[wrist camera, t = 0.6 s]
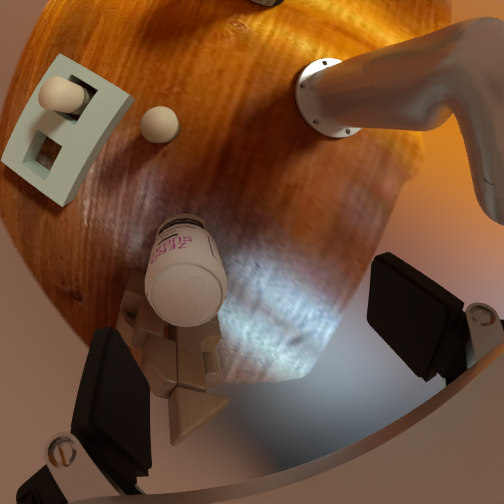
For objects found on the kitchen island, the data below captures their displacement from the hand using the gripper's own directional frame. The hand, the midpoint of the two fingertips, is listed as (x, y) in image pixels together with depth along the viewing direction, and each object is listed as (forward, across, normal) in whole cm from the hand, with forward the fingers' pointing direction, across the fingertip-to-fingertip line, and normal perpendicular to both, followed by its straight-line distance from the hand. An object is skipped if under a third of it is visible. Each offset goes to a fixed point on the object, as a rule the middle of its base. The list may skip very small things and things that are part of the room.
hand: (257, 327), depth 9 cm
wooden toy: (+30, +8, +16) cm, 35 cm away
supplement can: (+30, +4, +7) cm, 31 cm away
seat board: (+30, +16, -13) cm, 36 cm away
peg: (+30, +3, -9) cm, 31 cm away
